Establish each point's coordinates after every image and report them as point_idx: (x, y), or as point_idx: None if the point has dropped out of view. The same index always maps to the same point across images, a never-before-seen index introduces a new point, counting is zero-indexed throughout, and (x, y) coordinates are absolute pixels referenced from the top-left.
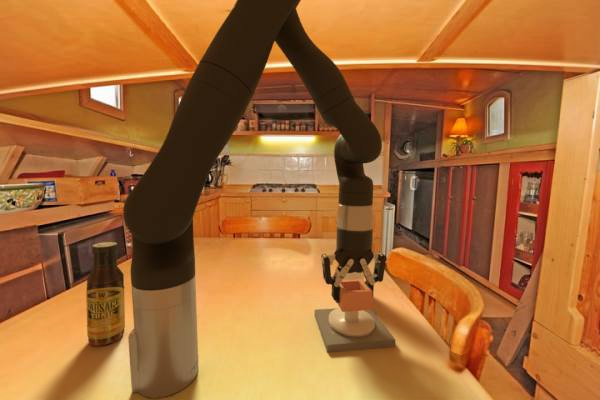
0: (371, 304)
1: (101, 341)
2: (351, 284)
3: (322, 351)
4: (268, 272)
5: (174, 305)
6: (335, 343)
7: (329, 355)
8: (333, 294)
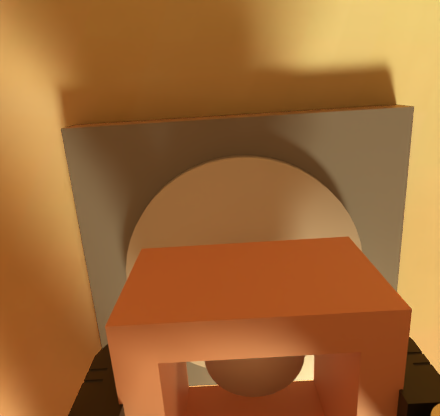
0: (138, 266)
1: None
2: None
3: (414, 111)
4: None
5: None
6: (369, 115)
7: (391, 83)
8: (424, 360)
